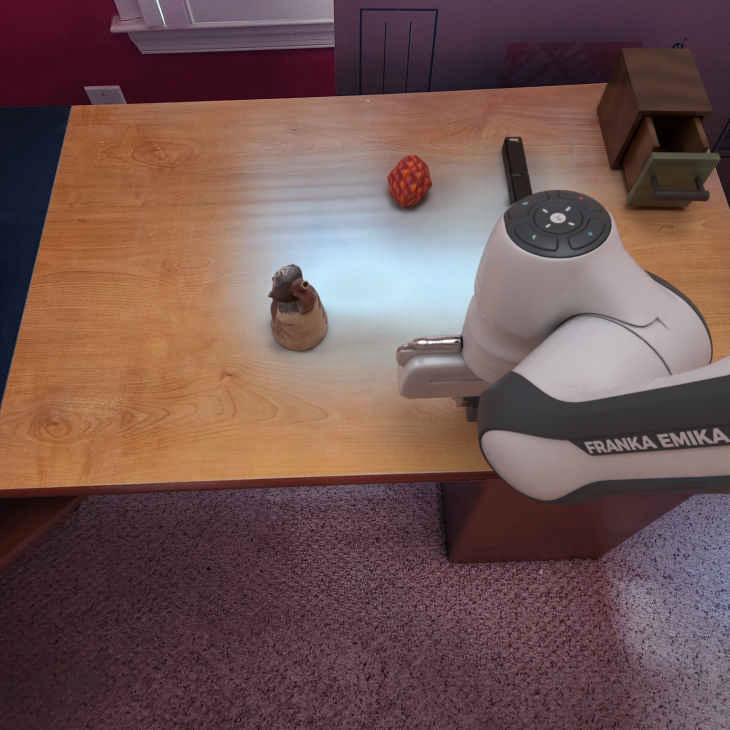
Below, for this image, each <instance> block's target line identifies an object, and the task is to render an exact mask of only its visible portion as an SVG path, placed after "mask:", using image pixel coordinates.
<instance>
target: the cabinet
mask: <svg viewBox="0 0 730 730" xmlns="http://www.w3.org/2000/svg"><path fill="white" fill-rule="evenodd" d="M713 112H714V110H713V107H712V104H711V102H710V99H709V97H708V94H707V91H706V89H705V86H704V84H703V81H702V78H701V76H700V73H699V70H698V68H697V65H696V62H695V60H694V56H693V54H692V52H691V49H690V48H654V47H653V48H650V47H648V48H646V47H644V48H643V47H640V48H639V47H621V48H620V50H619V54H618V56H617V58H616V60H615V62H614V66H613V68H612V71H611V73H610V75H609V78H608V81H607V83H606V85H605V87H604V90H603V92H602V95H601V97H600V100H599V102H598V105H597V107H596V114H597V118H598V121H599V126H600V130H601V134H602V138H603V143H604V147H605V151H606V155H607V160H608V163H609V168H610V170H611V171H612V170H613V171H615V170H616V171H621V170H622V171H624V168H623V164H622V160H621V158H622V156H623V154H624V152H625V150H626V148H627V146H628V144H629V142H630V140H631V138H632V136H633V134H634V132H635V130H636V128H637V126H638V123H639V121H640V119H641V117H642V115H678V116H699V118H700V121H701V124H702V127H703V128H704V127H705V125H706V124H707V122H708V121H709V119H710V117H711V115H712V114H713Z"/></svg>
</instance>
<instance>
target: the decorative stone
mask: <svg viewBox="0 0 730 730" xmlns="http://www.w3.org/2000/svg"><path fill="white" fill-rule="evenodd" d="M386 178H387V183H388V188H389V191H390V196H391V198H392V199H393V200H394V201H395V202H396V203H398V204H399V205H400V206H401V208H405V207H409V206H413V205H415V204H418V203H419V202H420V201H421V200H422V198H424V196H425V195H426V194H427V192H428V191H430V189H432V186H433V182H432V178H431V173H430V170H429V165H428V164H427V163H426V162H425V161H424V160H423V159H422V158H421V157H419V155H417V154H411V155H410V154H409V155H406V156H405V157H403V158H402V159H400V160H399V161H398V162H397V164H396V165H395V166H394V167H393V168H392V170H391V171H390V172H389V173H388V174H387V175H386Z"/></svg>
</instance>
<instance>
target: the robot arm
mask: <svg viewBox="0 0 730 730" xmlns="http://www.w3.org/2000/svg"><path fill="white" fill-rule="evenodd" d="M473 293H474V294H473V295H472V297H471V298H470V300H469V303H468V305H467V310H466V314H465V316H464V322H463V325H462V330H461V334H441V335H439V334H438V335H423V336H418V337H414V338H412V339H410V340H408V341H407V343H405V344H399V346H398V347H397V349H396V352H395V360H396V362H397V368H396V369H397V387H398V394H399V395H400V396H402V397H403V398H405V399H407V400H415V399H416V400H417V399H418V400H419V399H441V398H442V399H444V398H451V399H452V400H453V401H454V404H455V407H456V408H465V407H469V404H470V402H471V401H470V397H471V396H480V398H479V405H478V417H477V422H476V429H477V431H476V432H477V440H478V441H477V442H478V447H479V451H480V453H481V455H482V457H483V458H484V461H485V462H486V463H487V465H488V467H490V469H491V470H492V471H493V472H494V474H495V475H496V476H497V477H498V478H500V480H501V481H503V483H505V484H506V485H507V486H509V488H511V489H512V490H514V491H515V492H516V493H518V494H520V495H522V496H523V497H524V498H525V497H526V498H527V499H530V500H532V501H535V502H538V503H541V504H547V505H553V506H566V507H567V506H569V507H570V506H585V505H590V504H592V503H595V502H596V501H599V500H601V499H604V498H607V497H610V496H611V497H612V496H620V495H621V496H623V495H624V496H625V495H626V496H627V495H730V354H729V355H727V356H725V357H723V358H721V359H718V360H716V361H714V362H712V361H713V354H714V347H713V339H712V335H711V331H710V328H709V326H708V323H707V321H706V319H705V317H704V316H703V313H702V312H701V311H700V309H699V308H698V307H697V305H696V304H695V303H694V302H693V301H692V300H691V299H690V298H689V297H688V296H687V295H686V294H684V292H682V291H680V289H678V288H677V287H676V286H674V285H673V284H671V283H670V282H669V281H668V280H666V279H664V278H662V277H660V276H658V275H657V274H655V273H653V272H651V271H648V270H646V269H644V268H642V267H641V266H640V265H639V263H638V262H637V261H636V260H635V258H633V256H632V255H631V254H630V252H629V251H628V250H627V248H626V246H625V244H624V243H623V241H622V238H621V235H620V232H619V228H618V226H617V222H616V220H615V218H614V215H612V213H611V212H610V211H609V209H607V207H606V206H604V204H603V203H601V202H600V201H598V200H597V199H595V198H594V197H591V196H590V195H587V194H585V193H582V192H579V191H574V190H567V189H548V190H542V191H538V192H535V193H532V195H529V196H527V197H524V198H523V199H521V200H519V201H518V202H516V203H514V204H513V205H512V206H511V205H510V206H509V207H508V208H507V209H506V210H505V211H503V213H502V214H501V215H500V216H499V218H498V219H497V221H496V222H495V225H494V227H493V228H492V229H491V232H490V234H489V235H488V238H487V241H486V243H485V245H484V249H483V251H482V254H481V256H480V260H479V263H478V267H477V270H476V273H475V277H474V283H473Z"/></svg>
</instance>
